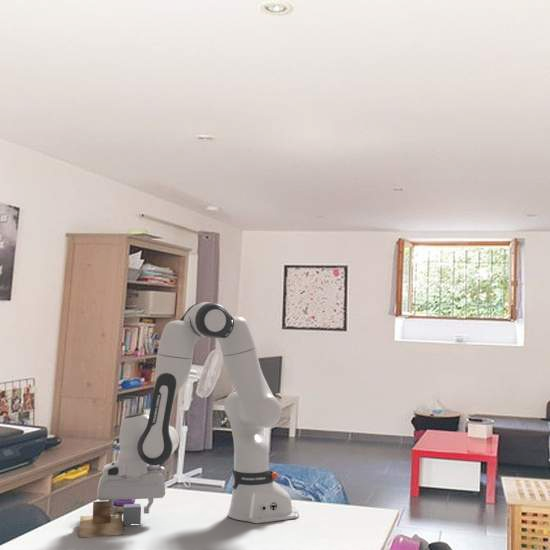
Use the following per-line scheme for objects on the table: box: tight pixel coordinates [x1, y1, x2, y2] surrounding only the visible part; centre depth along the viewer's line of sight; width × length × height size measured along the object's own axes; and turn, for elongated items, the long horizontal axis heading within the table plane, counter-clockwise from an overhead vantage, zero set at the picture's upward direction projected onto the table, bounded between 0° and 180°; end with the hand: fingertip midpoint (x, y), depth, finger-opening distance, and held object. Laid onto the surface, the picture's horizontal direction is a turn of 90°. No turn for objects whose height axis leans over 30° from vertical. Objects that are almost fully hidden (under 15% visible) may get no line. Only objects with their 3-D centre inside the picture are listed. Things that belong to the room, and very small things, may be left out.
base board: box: [78, 513, 124, 538], centre depth 187 cm, size 12×12×2 cm
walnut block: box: [92, 500, 112, 524], centre depth 187 cm, size 5×5×5 cm
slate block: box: [122, 503, 142, 526], centre depth 194 cm, size 5×5×5 cm
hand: (130, 513), depth 194 cm, fingers open, 8 cm apart
